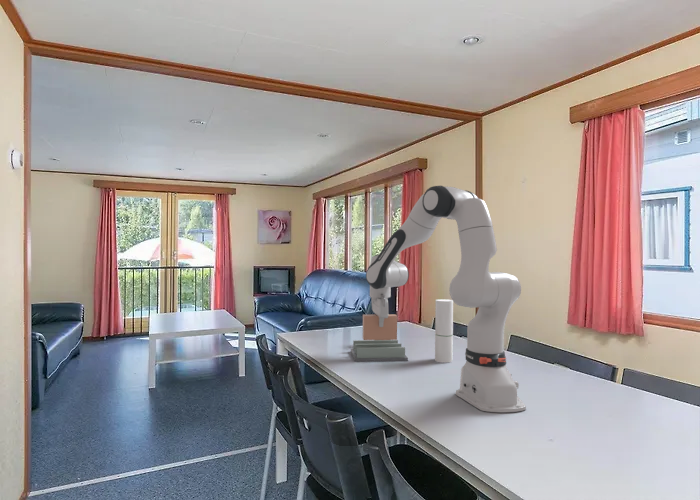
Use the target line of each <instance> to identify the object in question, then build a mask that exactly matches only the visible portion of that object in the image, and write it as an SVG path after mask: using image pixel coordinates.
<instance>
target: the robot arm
mask: <svg viewBox="0 0 700 500" xmlns="http://www.w3.org/2000/svg"><path fill="white" fill-rule="evenodd" d="M442 218H444V219H446V220H455V222H456V224H457V225H456V226H457V231H458V238H459V244H460V258H461V259H460V265H459V268H458V272H457V273H456V275H455V276H454V277H453V278H452V280H451V282H450V284H449V295H450V298H451V300H453V304H456V305H457V306H460V307H465V308H470V309H471V308H472V309H473V308H474V309H476V308H478V309H477V312H476V314H475V316H474V317H472V319H471V320H470V321H469V322H468V324H467V327H466V329H467V332H466V333H467V334H466V335H467V336H466V338H467V341H466V343H467V344H466V348H465V353H464V355H465V360H466V361H465V363H464V365H463V366H461V369H460V370H461V371H460V380H459V389H456V390H455V395H456V397H457V396H458V397H459V398H460V399H462V400H463V401H465V402H467V403H468V404H470V405H471V406H473V407H475V408H477V409H478V410H479V411H483V412H488V413H490V412H491V413H516V412H521V411H522V412H523V411H526V410H527V406H526V404H525V403H524V401H522V400H521V398H520V397H519V396H518V389H519V386H520V385H519V384H520V383H519V382H518V380H514V379H513V377H512V373H511V372H510V370H508V367H507V357H506V353H505V350H504V340H505V339H504V338H505V336H504V335H505V326H506V321H507V318H508V316H509V313H510V310H511V308H512V306H513V305H514V304H515V302H516V301H518V299H519V298H520V297H521V293H522V285H521V282H520V281H519V279H518V277H517V276H515V275H513V274H510V273H507V272H503V271H492V272H491V271H490V269H489V268H490V261H491V259H492V258H493V257H494V256H495V255H496V254H497V251H498V249H497V243H496V236H495V231H494V225H493V221H492V217H491V215H490V211H489V208H488V206H487V204H486V202H485V200H483V199H481V198H480V197H478V196H477V194H475V193H473V192H471V191H469V190H467V189H465V190H464V189H461V188H457V187H453V186H443V185H433V186H430V187H429V188H427V189H426V191H424V193H423V194H422V195H421V196H420V197H419V198H418V200H417V201H416V202H415V204H414V206H413V207H412V209H411V211H410V212H409V214H408V216H407V218H406V220H405V221H404V222H403V224H402V225H401V226H400V227H399V228H398V229H397V230H395V232H394V233H393V234H392V235H391V236H390V238H389V239H388V240H387V242H386V243H385V244H384V246H383V248H382V250H380V253H379V254H375V255H373V256H372V257H371V260H370V265H369V266H368V267H367V270H366V271H365V272H366V273H365V280H366V281H367V283H368V285H369V297H370V298H371V310H372V312H373V313H374V314H376V315H377V316H378V317H379V327H383V323H384V318H388V314H389V300H388V299H389V298H391V297H392V295H391V292H392V291H391V288H394V287H395V288H397V287H402V286H405V285H406V284H407V282H408V281H409V277H410V274H409V273H410V272H409V269H408V267H407V266H406V264H404V263H401V262H398V261H396V258H397V257H398V256H399V255H400V253H401V252H403V251H404V250H406V249H409V248H410V247H413V246H417V245H420V244H423V243H425V242H426V241H429V239H430V238H431V237H432V235H433V233H434V232H435V230H436V228H437V226H438V224H439V222H440V220H441V219H442Z"/></svg>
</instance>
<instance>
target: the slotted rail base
mask: <svg viewBox="0 0 700 500" xmlns="http://www.w3.org/2000/svg"><path fill="white" fill-rule="evenodd" d="M352 344H353V345H352V347H353V348H350V354H351V356H352V359H353V361H354V362H355V363H357V362H358V363H361V362H366V363H367V362H409V358H408V356H407V355H406V347H404V346H402V343H399V340H398V339H397V340H363V339H362V340H360V339H359V340H356V339H355V340H352Z"/></svg>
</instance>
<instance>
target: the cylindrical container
mask: <svg viewBox="0 0 700 500" xmlns="http://www.w3.org/2000/svg"><path fill="white" fill-rule="evenodd" d="M434 312H435V317H434V318H435V322H434V330H435V331H434V333H435V334H434V361H435V362H437V363H443V364H449V363H452V362H453V356H454V355H453V352H454V349H453V346H454V345H453V340H454V302H453V300H452V299H448V298H447V299H444V298H443V299H441V298H440V299H435V311H434Z"/></svg>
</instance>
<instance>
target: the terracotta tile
mask: <svg viewBox="0 0 700 500" xmlns="http://www.w3.org/2000/svg"><path fill="white" fill-rule="evenodd" d="M362 340H398V315H397V314H396V313H395V314H389V313H388V318H384V323H383V327H379V317H378V316H377V315H376V314H375V313H374V314H373V313H372V314H362Z"/></svg>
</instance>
